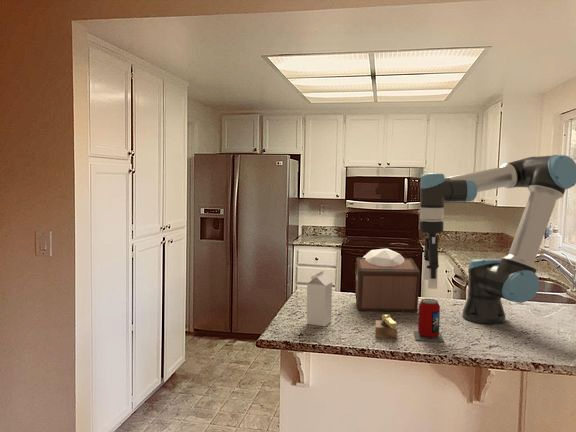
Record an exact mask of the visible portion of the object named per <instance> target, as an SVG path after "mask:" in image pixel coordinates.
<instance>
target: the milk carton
mask: <svg viewBox="0 0 576 432" xmlns="http://www.w3.org/2000/svg"><path fill="white" fill-rule="evenodd" d="M310 279H311V280H310V281H309V282H307V284H306V285H307V286H306V325H312V326H318V327H319V326H320V327H326V326H328V325H329V324H330V323H332V311H333V310H332V306H333V304H332V300H333V298H332V297H333V295H332V293H333V290H332V288H333V282H332V280H330V278H329V277H327V275H325V273H324V270H320V271H319V272H317V273H315V274H314V275H312V276H311V277H310Z"/></svg>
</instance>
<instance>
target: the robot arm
mask: <svg viewBox="0 0 576 432" xmlns="http://www.w3.org/2000/svg"><path fill="white" fill-rule="evenodd" d="M575 185H576V162H575V160H574V159H573V158H571V157H570V156H568V155H566V154H565V155H564V154H553V155H545V156H544V155H543V156H542V155H541V156H539V155H538V156H529V157H525V158H522V159H518V160H514V161H511V162H505V163H503V164H502V165H500V167H499V166H498V167H493V168H489V169H484V170H483V169H482V170H479V171H474V172H468V173H463V174H458V175H453V176H448V177H445V174H444V173H424V174H422V175H421V177H420V185H419V189H420V190H419V191H420V193H419V195H420V196H419V198H420V201H419V205H420V206H419V208H420V209H418V211H417V213H419V219H420V221H419V232H420V233H425V234H424V235H425V237H424V253H423V257H424V258H423V260H424V265H423V267H424V270H423V274H424V276H423V277H424V278H423V280H424V281H425V280H427V281H428V282H427V289H429V290H430V289H431V290H432V289H435V290H437V289H438V272H439V271H438V270H439V269H438V268H439V267H440V265H439V250H438V249H439V246H438V244H439V237H438V236H437V234H441V233H443V232H444V221H443V220H444V219H445V217H444V216H445V203H468V202H473V201H474V200H475V199H476V198H477V195H478V193H480V192H485V191H489V190H490V191H491V190H496V189H500V188H505V189H513V188H527V190H528V191H529V193H530V194H529V195H528V200H527V202H526V205H525V207H524V210H523V212H522V216H521V218H520V221H519V224H518V226H517V230H516V232H515V235H514V237H513V240H512V244H511V246H510V248H509V251H508V254H507V255H505V256H503V257H501V259H500V258H479V259H478V258H475V259H474V258H473V259H471V260H470V261H469V262H468V263H469V264H468V269H467V270H468V276H467V277H468V283H467V284H468V285H467V291H468V292H467V299H466V300H465V303H464V305H463V309H462V318H464V319H465V320H467V321H469V322H473V323H478V324H486V325H498V324H499V325H500V324H504V323H505V322H506V312H505V310H504V307H503V303H502V299H503V300H506V301H509V302H512V303H513V302H514V303H519V304H521V303H522V304H523V303H526V302H528V301H531V300H532V299H533V298H534V297H535V296H536V295H537V293H538V291H539V289H540V281H539V277H538V275H537V270H538V269H537V267H536V265H535V261H536V259H537V255H538V253H539V250H540V247H541V244H542V242H543V239H544V236H545V233H546V231H547V227H548V226H549V222H550V219H551V217H552V214H553V211H554V209H555V205H556V203H557V201H558V200H560V199H562V198H563V197H564V195H565V193H566V190H569V189H571V188H573V187H574V186H575Z"/></svg>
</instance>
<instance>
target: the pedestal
mask: <svg viewBox="0 0 576 432" xmlns="http://www.w3.org/2000/svg"><path fill="white" fill-rule="evenodd" d="M393 321H394V322H396V321H395V320H393ZM374 335H375V338H378V339H379V338H380V339H391V338H392V339H393V340H397V339H398V325H397V323H396V328H390V327H389V326H388V325H387V324H386V323H384V322H382V320H377V319H376V320H375V334H374Z"/></svg>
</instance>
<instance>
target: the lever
mask: <svg viewBox="0 0 576 432" xmlns="http://www.w3.org/2000/svg"><path fill="white" fill-rule="evenodd" d="M381 321H382V322H384V323H386V324H387V325H388V326H389V327H390V328H396V324H397V321H395V320H394V319H392V318H391V314H387V313H386V314H385V313H383V314H381ZM394 321H395V322H394Z"/></svg>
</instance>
